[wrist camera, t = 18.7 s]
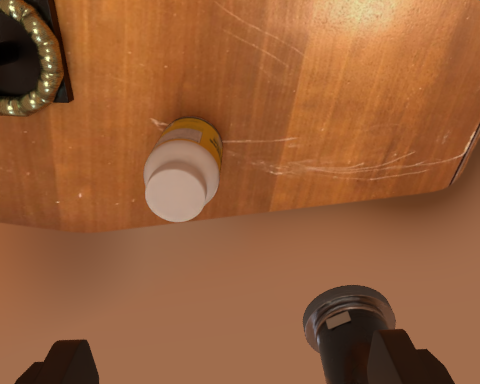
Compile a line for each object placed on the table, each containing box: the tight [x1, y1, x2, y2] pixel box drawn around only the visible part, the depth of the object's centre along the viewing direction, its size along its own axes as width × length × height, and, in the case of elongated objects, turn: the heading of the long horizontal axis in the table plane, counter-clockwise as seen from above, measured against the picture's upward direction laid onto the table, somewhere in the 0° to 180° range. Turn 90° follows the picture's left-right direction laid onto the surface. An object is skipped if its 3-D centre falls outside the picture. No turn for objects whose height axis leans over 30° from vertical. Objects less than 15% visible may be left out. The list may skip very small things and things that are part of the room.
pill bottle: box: [144, 116, 223, 222], centre depth 33 cm, size 6×6×12 cm
